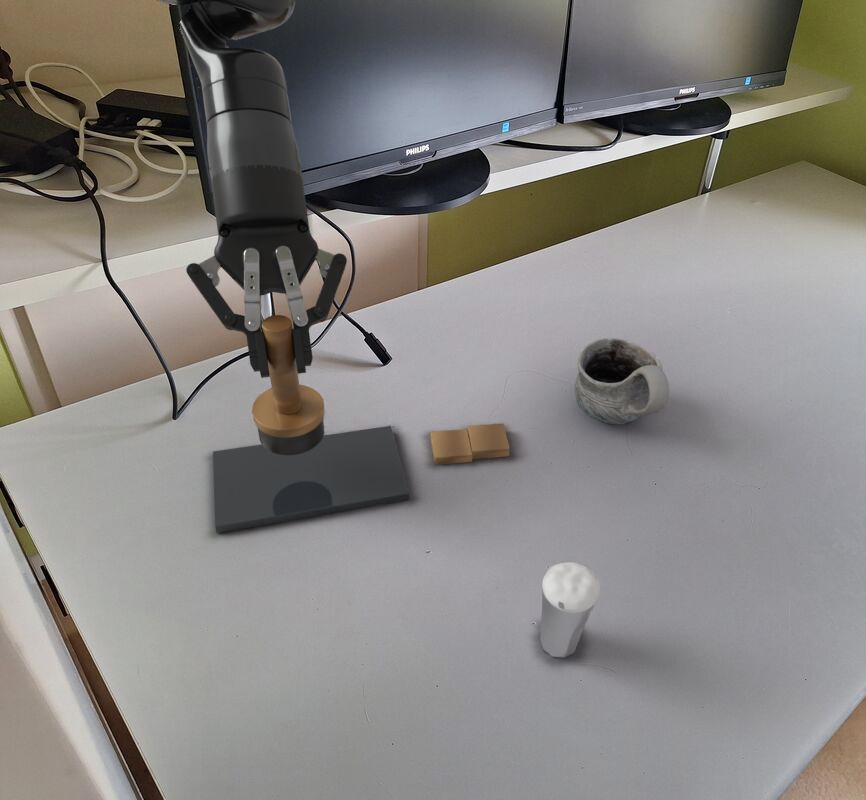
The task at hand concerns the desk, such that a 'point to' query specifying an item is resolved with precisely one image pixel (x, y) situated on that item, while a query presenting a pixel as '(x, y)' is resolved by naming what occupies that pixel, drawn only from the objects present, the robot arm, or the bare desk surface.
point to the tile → (306, 479)
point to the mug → (619, 381)
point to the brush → (286, 397)
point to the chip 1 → (451, 446)
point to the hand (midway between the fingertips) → (283, 373)
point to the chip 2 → (488, 441)
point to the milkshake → (566, 606)
